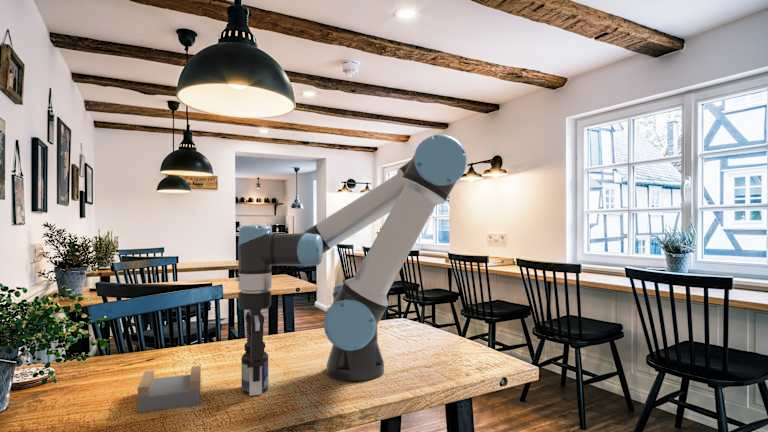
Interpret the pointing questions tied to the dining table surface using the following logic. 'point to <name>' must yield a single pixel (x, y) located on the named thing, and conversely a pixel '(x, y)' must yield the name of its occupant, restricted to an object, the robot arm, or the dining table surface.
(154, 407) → the display plinth
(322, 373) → the dining table surface
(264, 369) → the pill bottle
